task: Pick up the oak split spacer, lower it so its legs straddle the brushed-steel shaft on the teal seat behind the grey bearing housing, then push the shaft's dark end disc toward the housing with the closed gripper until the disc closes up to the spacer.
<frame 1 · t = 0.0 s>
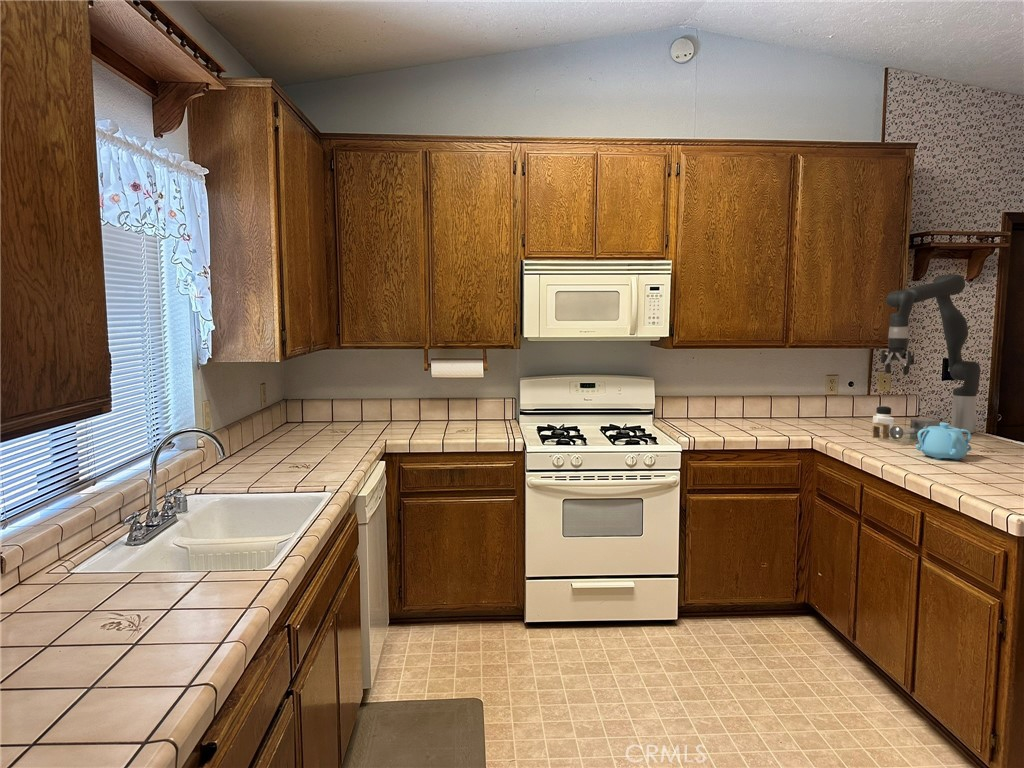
hand: (896, 374, 293), 29 cm above the table, fingers open, 8 cm apart
decorative pot: (942, 458, 260), on the table
shaft: (910, 431, 293), point 4 cm above the table, slide at 0.0 cm
spacer: (880, 438, 300), on the table
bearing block: (911, 440, 294), on the table
medicine bottle: (882, 432, 316), on the table
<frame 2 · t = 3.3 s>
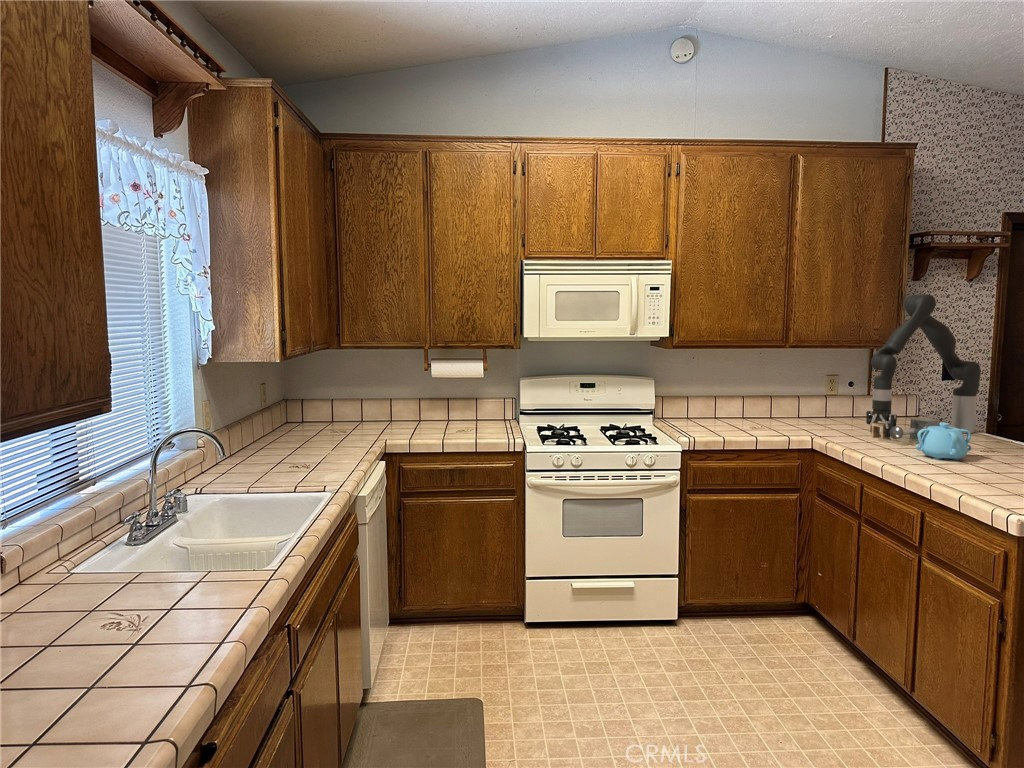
hand: (880, 435, 300), 1 cm above the table, fingers open, 7 cm apart
nothing on the table moved.
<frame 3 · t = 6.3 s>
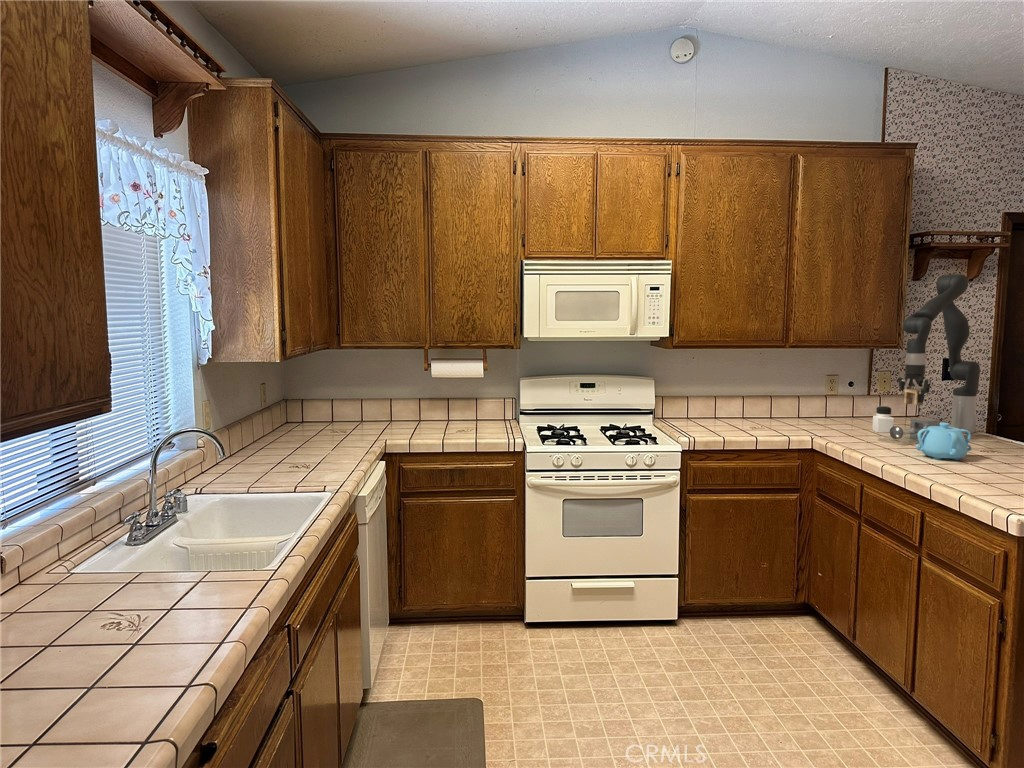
hand: (913, 401, 292), 17 cm above the table, fingers closed on spacer, 5 cm apart
spacer: (913, 404, 292), point 16 cm above the table, touching gripper
everything else where it was.
when the fingers open (3 cm above the table, at t = 9.0 s): spacer stays where it is, resting on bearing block.
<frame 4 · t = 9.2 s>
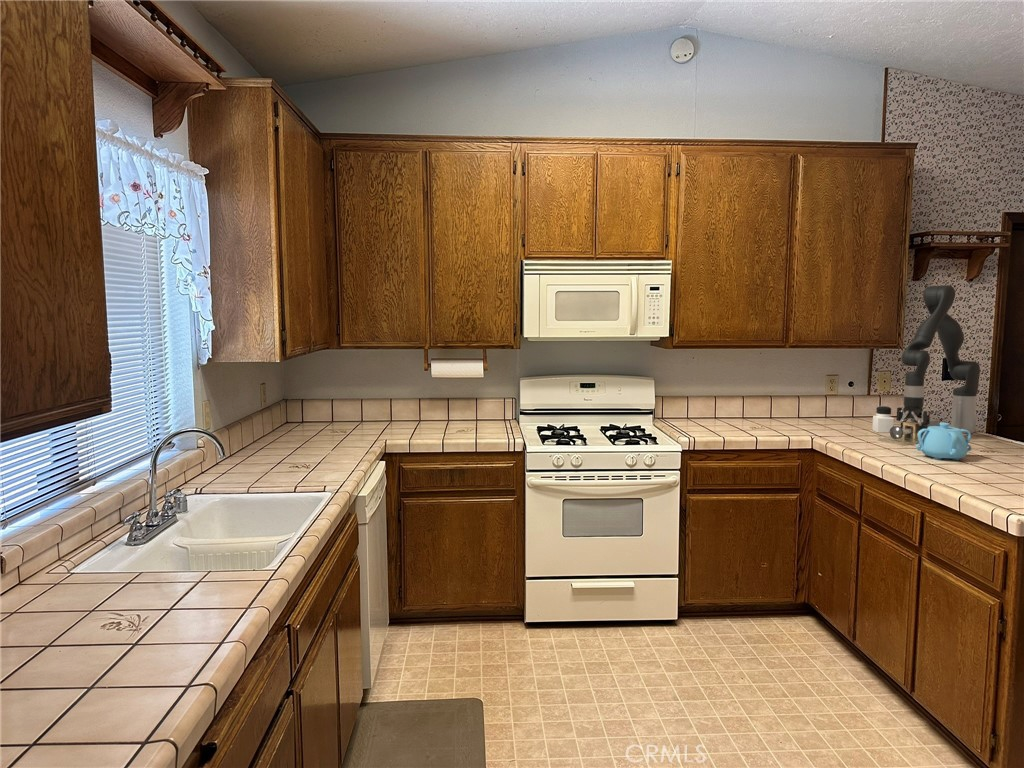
hand: (912, 432, 293), 4 cm above the table, fingers open, 8 cm apart
spacer: (911, 437, 294), point 1 cm above the table, touching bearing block
everything else where it was.
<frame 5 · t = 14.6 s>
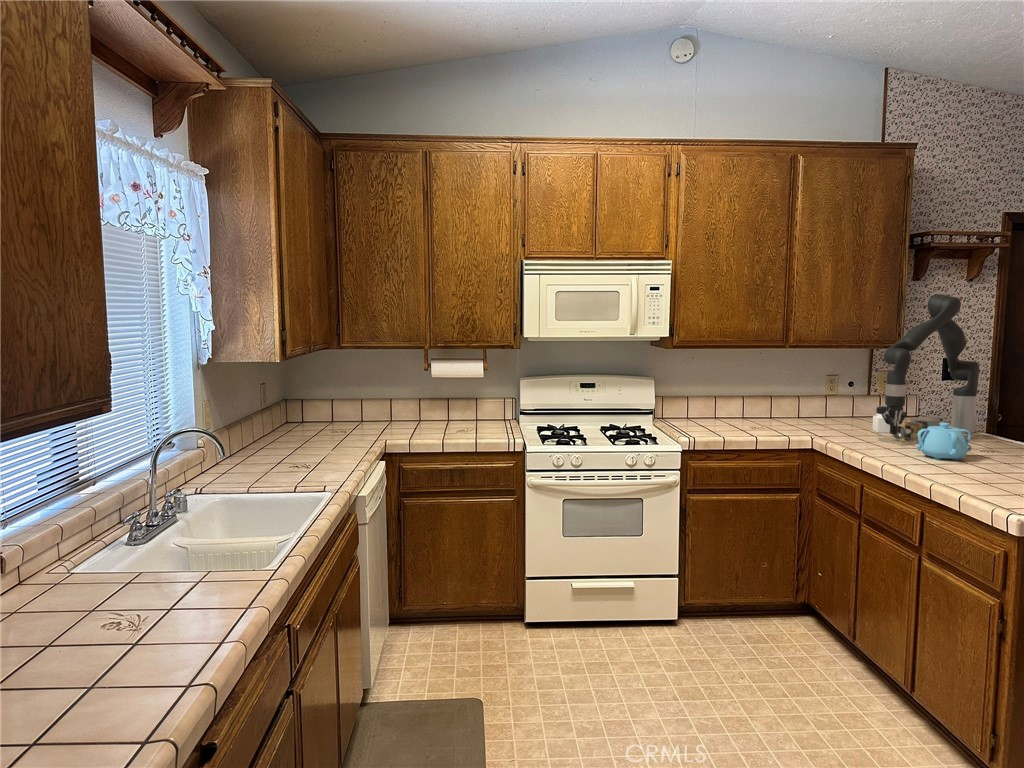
hand: (893, 434, 289), 4 cm above the table, fingers closed
shaft: (912, 430, 293), point 4 cm above the table, slide at 1.5 cm, touching gripper
everything else where it was.
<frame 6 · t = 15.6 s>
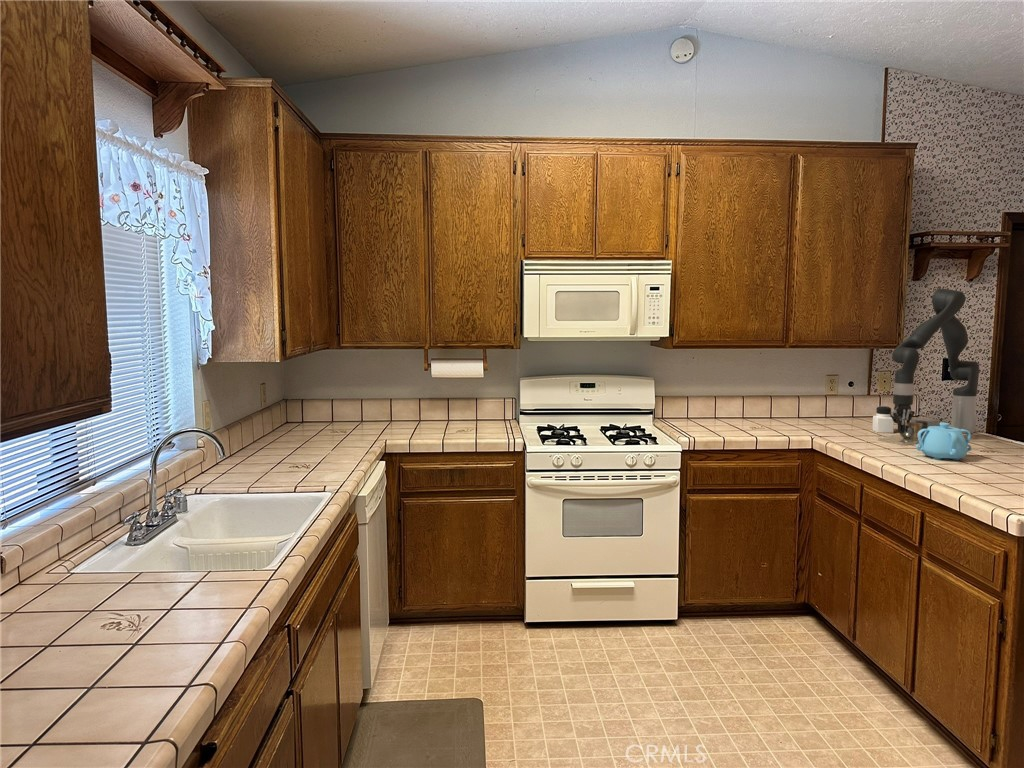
hand: (901, 432, 291), 4 cm above the table, fingers closed
shaft: (920, 430, 295), point 4 cm above the table, slide at 6.0 cm, touching gripper
everything else where it was.
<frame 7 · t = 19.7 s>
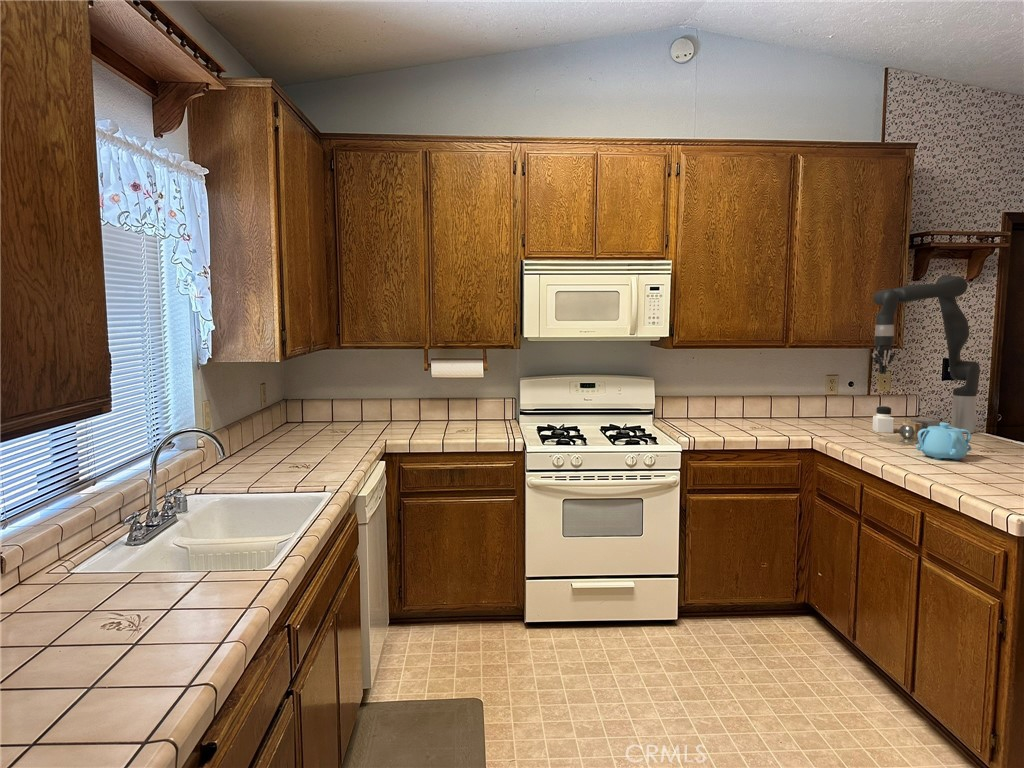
hand: (882, 373, 299), 29 cm above the table, fingers closed
shaft: (920, 430, 295), point 4 cm above the table, slide at 6.0 cm
everything else where it was.
at the end: spacer 0.4 cm off-centre on the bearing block, point 1.3 cm above the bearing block's base; spacer tilted 0°; shaft slide at 6.0 cm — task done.
